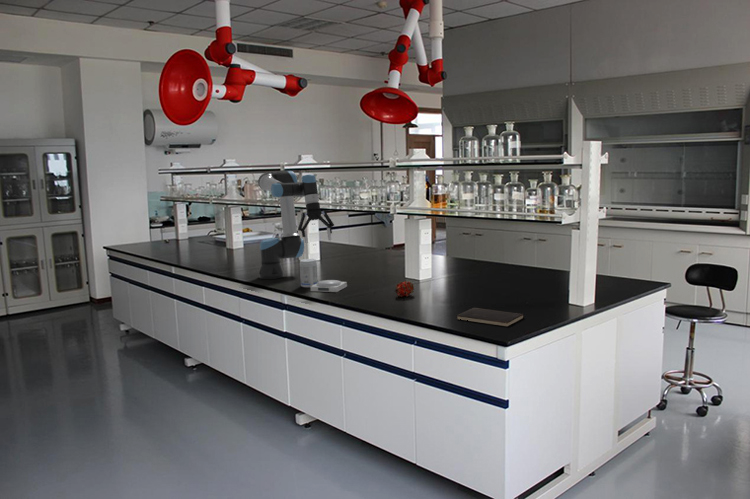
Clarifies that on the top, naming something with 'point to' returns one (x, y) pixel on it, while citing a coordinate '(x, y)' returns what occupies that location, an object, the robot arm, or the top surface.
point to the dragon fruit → (404, 289)
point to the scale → (329, 286)
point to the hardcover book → (490, 316)
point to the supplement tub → (308, 272)
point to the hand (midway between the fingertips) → (318, 241)
